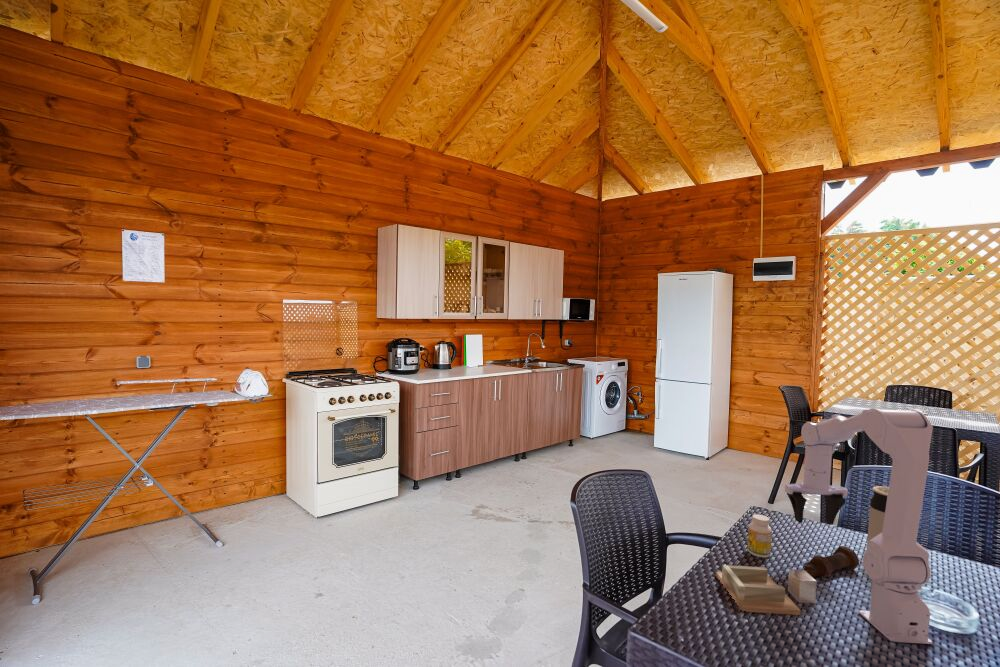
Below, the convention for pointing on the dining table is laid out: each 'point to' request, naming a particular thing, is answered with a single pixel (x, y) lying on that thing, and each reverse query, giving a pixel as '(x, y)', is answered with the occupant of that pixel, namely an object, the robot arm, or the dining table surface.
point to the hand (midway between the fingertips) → (813, 522)
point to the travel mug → (877, 511)
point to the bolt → (832, 562)
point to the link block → (802, 586)
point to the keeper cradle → (756, 590)
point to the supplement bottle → (759, 536)
